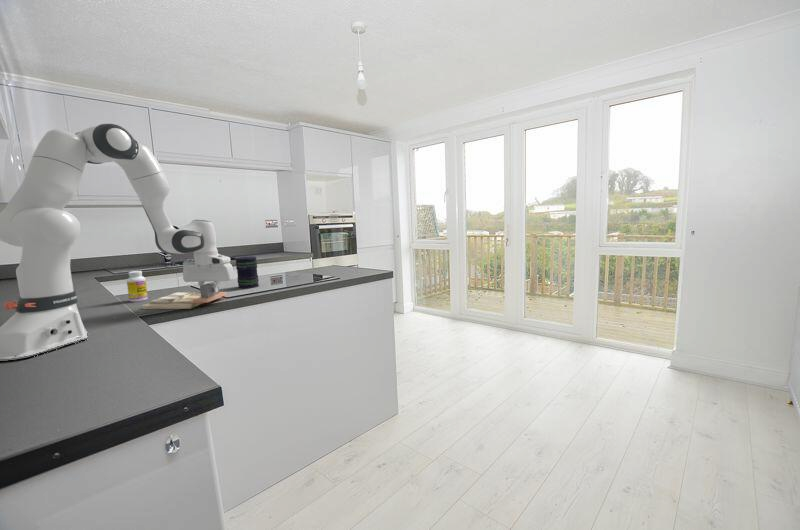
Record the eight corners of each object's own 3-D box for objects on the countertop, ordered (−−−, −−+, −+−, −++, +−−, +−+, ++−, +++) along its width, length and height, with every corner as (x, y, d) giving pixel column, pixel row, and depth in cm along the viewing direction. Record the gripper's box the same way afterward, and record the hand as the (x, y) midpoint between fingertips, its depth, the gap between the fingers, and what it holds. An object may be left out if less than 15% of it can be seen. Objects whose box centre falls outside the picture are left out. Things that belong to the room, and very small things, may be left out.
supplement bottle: (138, 302, 151) (134, 273, 149) (125, 302, 152) (121, 272, 150) (151, 298, 157) (148, 270, 155) (139, 298, 159) (135, 270, 157)
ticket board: (190, 308, 138) (189, 301, 137) (142, 309, 139) (141, 302, 139) (219, 296, 157) (218, 290, 157) (177, 297, 159) (176, 291, 158)
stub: (207, 302, 140) (206, 287, 139) (193, 302, 140) (191, 287, 140) (226, 294, 154) (225, 280, 153) (213, 294, 154) (212, 280, 153)
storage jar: (239, 285, 181) (236, 257, 179) (259, 284, 184) (257, 256, 182) (236, 289, 172) (233, 259, 170) (258, 287, 175) (255, 258, 173)
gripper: (177, 260, 142) (181, 293, 144) (225, 259, 141) (229, 293, 143) (187, 258, 149) (191, 290, 151) (234, 257, 147) (237, 289, 149)
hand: (210, 291), depth 147 cm, fingers closed on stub, 3 cm apart
